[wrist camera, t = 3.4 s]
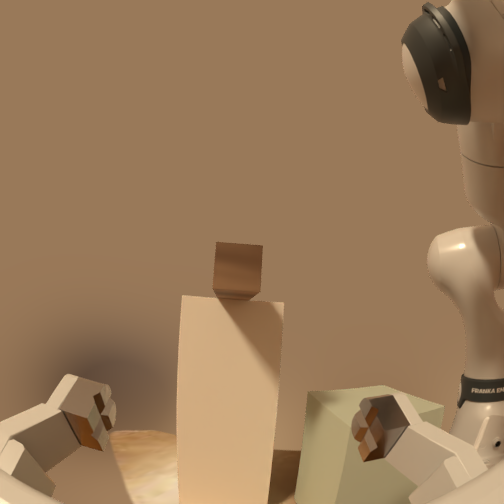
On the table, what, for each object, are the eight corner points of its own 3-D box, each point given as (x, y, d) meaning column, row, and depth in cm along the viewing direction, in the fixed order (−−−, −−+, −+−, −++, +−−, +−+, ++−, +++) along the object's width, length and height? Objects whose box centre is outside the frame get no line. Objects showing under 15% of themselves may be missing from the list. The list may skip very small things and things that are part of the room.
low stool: (406, 528, 14) (445, 406, 18) (319, 553, 14) (350, 427, 17) (364, 486, 26) (383, 385, 30) (294, 497, 25) (307, 391, 29)
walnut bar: (260, 291, 18) (262, 245, 19) (212, 288, 18) (216, 242, 18) (240, 306, 43) (241, 286, 44) (221, 304, 43) (222, 285, 44)
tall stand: (266, 512, 22) (283, 302, 28) (179, 508, 21) (182, 295, 27) (254, 463, 36) (265, 307, 41) (191, 459, 35) (196, 302, 41)
